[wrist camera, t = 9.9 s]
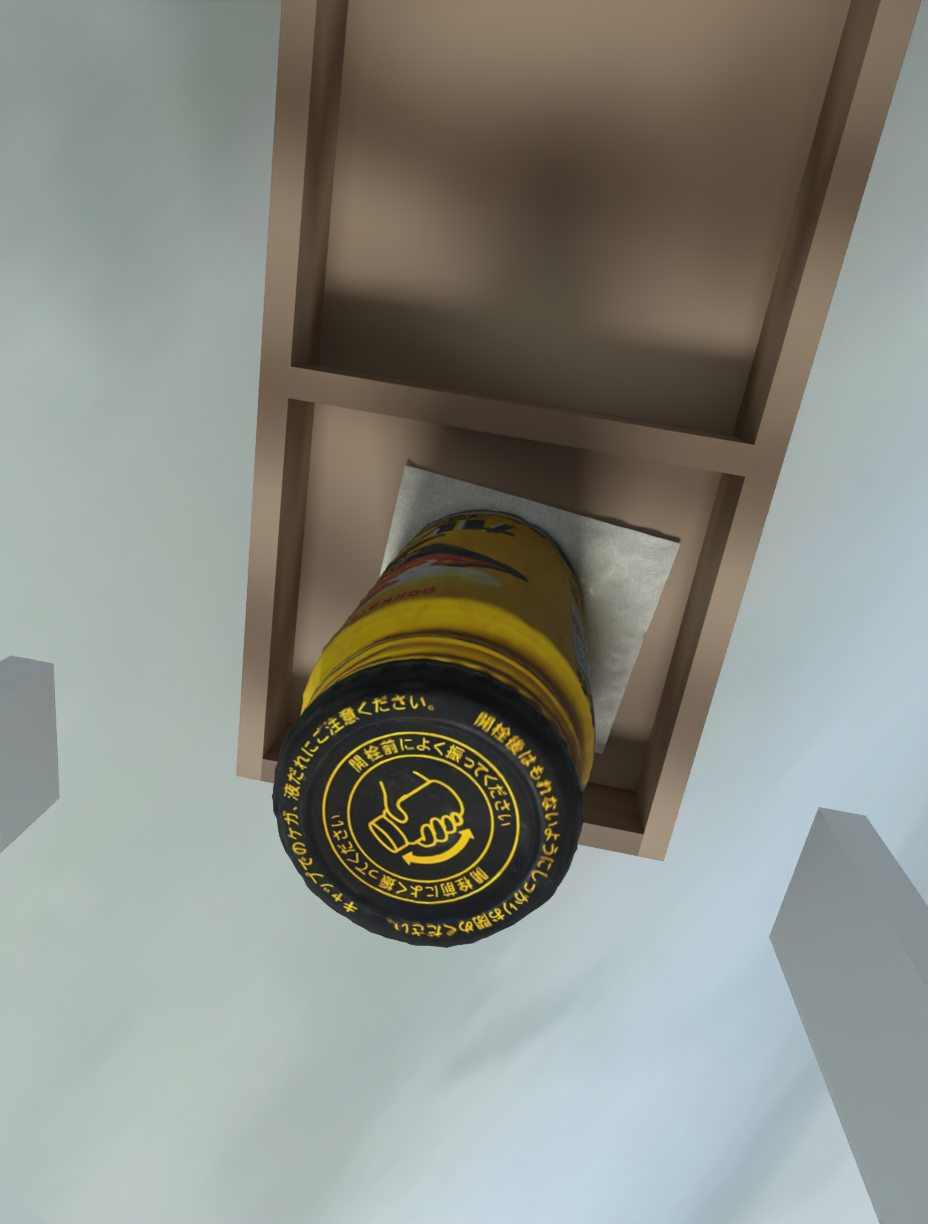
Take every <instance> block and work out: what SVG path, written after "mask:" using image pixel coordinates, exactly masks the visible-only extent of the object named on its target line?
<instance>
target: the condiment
mask: <svg viewBox="0 0 928 1224" xmlns="http://www.w3.org/2000/svg"><path fill="white" fill-rule="evenodd" d="M679 547H680V543H676V542H673V541H669V540H666V539H662V538H658V537H654V536H651V535H647V534H644V533H641V532H638V531H634V530H631V529H627V528H623V527H619V526H615V525H612V524H609V523H605V522H601V521H598V520H595V519H592V518H588V517H584V516H581V515H577V514H574V513H571V512H568V511H564V510H560V509H557V508H554V507H550V506H547V505H544V504H541V503H537V502H534V501H531V500H527V499H524V498H520V497H517V496H513V495H510V494H506V493H502V492H499V491H495V490H492V489H489V488H485V487H481V486H478V485H475V484H471V483H468V482H464V481H461V480H457V479H453V478H449V477H446V476H443V475H440V474H436V473H433V472H429V471H425V470H422V469H418V468H414V467H409V466H405V467H404V472H403V477H402V481H401V485H400V489H399V494H398V498H397V502H396V507H395V511H394V515H393V519H392V525H391V529H390V533H389V538H388V542H387V546H386V550H385V554H384V559H383V563H382V568H381V572H380V576H379V579H378V580H377V582H376V583H375V585H374V587H373V588H372V589H371V590H370V591H369V592H368V594H367V596H366V597H365V598H364V599H362V600H361V601H360V604H359V605H358V607H357V608H356V609H355V611H354V612H353V613H352V614H351V616H349V617H348V619H347V620H346V622H345V623H344V625H343V626H342V627H341V628H340V629H339V631H338V632H336V633H335V634H334V635H333V636H332V638H331V639H330V641H329V642H328V643H327V644H326V645H325V646H324V648H323V650H322V654H321V656H320V658H319V659H318V661H317V662H316V664H315V667H314V669H313V672H312V674H311V676H310V678H309V681H308V683H307V686H306V689H305V691H304V693H303V704H302V710H301V716H300V718H299V720H298V721H297V722H296V723H295V724H294V725H293V726H292V727H291V728H290V729H289V730H288V731H287V733H286V736H285V738H284V740H283V742H282V744H281V748H280V754H279V761H278V763H277V765H276V768H275V771H274V772H275V776H274V787H273V795H272V799H273V811H274V814H275V816H276V818H277V824H278V831H279V836H280V839H281V842H282V844H283V847H284V849H285V851H286V853H287V854H288V856H289V857H290V859H291V860H292V862H293V864H294V866H295V868H296V869H297V871H298V872H299V874H300V875H301V876H302V877H303V879H304V881H305V883H306V885H307V887H308V888H309V889H310V890H311V891H312V892H313V893H314V894H315V895H316V896H318V897H319V898H320V899H321V900H322V901H323V902H325V903H326V904H327V905H328V906H329V907H331V908H332V909H333V910H335V911H336V912H337V913H339V914H341V915H343V916H345V917H347V918H348V919H349V920H351V921H352V922H353V923H355V924H357V925H359V926H361V927H363V928H365V929H366V930H368V931H369V932H371V933H375V934H378V935H381V936H383V937H385V938H389V939H394V940H398V941H401V942H406V943H408V944H411V945H416V946H436V947H446V948H448V947H452V946H456V945H463V944H471V943H474V942H476V941H478V940H480V939H483V938H486V937H489V936H491V935H493V934H495V933H497V932H499V931H501V930H503V929H505V928H508V927H510V926H512V925H514V924H515V923H517V922H518V921H520V920H521V919H523V918H524V917H525V916H527V915H528V914H529V913H531V912H532V911H534V910H535V909H537V908H539V907H540V906H541V905H543V904H544V903H546V902H547V901H548V900H549V899H550V898H551V897H552V896H553V894H554V893H555V891H556V889H557V887H558V886H559V885H560V883H561V882H562V880H563V878H564V877H565V875H566V873H567V872H568V870H569V867H570V865H571V862H572V859H573V856H574V854H575V852H576V850H577V845H578V841H579V837H580V834H581V831H582V826H583V813H582V809H583V794H582V791H583V790H584V789H585V787H586V784H587V782H588V779H589V776H590V771H591V768H592V765H593V759H594V753H595V752H596V753H600V754H602V753H603V751H604V748H605V745H606V742H607V740H608V737H609V733H610V730H611V727H612V724H613V722H614V719H615V716H616V714H617V711H618V708H619V705H620V703H621V700H622V697H623V695H624V692H625V689H626V687H627V684H628V681H629V678H630V675H631V672H632V669H633V667H634V665H635V662H636V659H637V657H638V654H639V651H640V649H641V646H642V643H643V640H644V635H645V633H646V632H647V630H648V627H649V625H650V622H651V620H652V618H653V614H654V612H655V610H656V607H657V605H658V602H659V599H660V596H661V593H662V590H663V588H664V585H665V582H666V580H667V578H668V576H669V573H670V570H671V568H672V565H673V563H674V560H675V557H676V554H677V552H678V549H679ZM581 578H583V579H585V582H584V583H582V582H581ZM590 588H593V593H594V594H593V595H592V594H591V593H590V591H589V589H590Z"/></svg>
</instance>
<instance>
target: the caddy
mask: <svg viewBox="0 0 928 1224" xmlns="http://www.w3.org/2000/svg"><path fill="white" fill-rule="evenodd" d="M920 3H921V0H282V6H281V23H280V40H279V57H278V74H277V91H276V108H275V125H274V142H273V159H272V176H271V193H270V210H269V227H268V245H267V262H266V279H265V296H264V313H263V330H262V347H261V364H260V381H259V398H258V415H257V432H256V449H255V466H254V483H253V500H252V518H251V535H250V552H249V569H248V586H247V603H246V620H245V637H244V654H243V671H242V688H241V705H240V722H239V739H238V756H237V774H236V776H240V777H245V778H250V779H255V780H260V781H265V782H270V783H274V776H275V772H274V771H275V768H276V765H277V763H278V761H279V754H280V748H281V744H282V742H283V740H284V738H285V736H286V733H287V731H288V730H289V729H290V728H291V727H292V726H293V725H294V724H295V723H296V722H297V721H298V720H299V718H300V716H301V710H302V704H303V693H304V691H305V689H306V686H307V683H308V681H309V678H310V676H311V674H312V672H313V669H314V667H315V664H316V662H317V661H318V659H319V658H320V656H321V654H322V650H323V648H324V646H325V645H326V644H327V643H328V642H329V641H330V639H331V638H332V636H333V635H334V634H335V633H336V632H338V631H339V629H340V628H341V627H342V626H343V625H344V623H345V622H346V620H347V619H348V617H349V616H351V614H352V613H353V612H354V611H355V609H356V608H357V607H358V605H359V604H360V601H361V600H362V599H364V598H365V597H366V596H367V594H368V592H369V591H370V590H371V589H372V588H373V587H374V585H375V583H376V582H377V580H378V579H379V576H380V572H381V568H382V563H383V559H384V554H385V550H386V546H387V542H388V538H389V533H390V529H391V525H392V519H393V515H394V511H395V507H396V502H397V498H398V494H399V489H400V485H401V481H402V477H403V472H404V467H405V466H409V467H414V468H418V469H422V470H425V471H429V472H433V473H436V474H440V475H443V476H446V477H449V478H453V479H457V480H461V481H464V482H468V483H471V484H475V485H478V486H481V487H485V488H489V489H492V490H495V491H499V492H502V493H506V494H510V495H513V496H517V497H520V498H524V499H527V500H531V501H534V502H537V503H541V504H544V505H547V506H550V507H554V508H557V509H560V510H564V511H568V512H571V513H574V514H577V515H581V516H584V517H588V518H592V519H595V520H598V521H601V522H605V523H609V524H612V525H615V526H619V527H623V528H627V529H631V530H634V531H638V532H641V533H644V534H647V535H651V536H654V537H658V538H662V539H666V540H669V541H673V542H676V543H680V547H679V549H678V552H677V554H676V557H675V560H674V563H673V565H672V568H671V570H670V573H669V576H668V578H667V580H666V582H665V585H664V588H663V590H662V593H661V596H660V599H659V602H658V605H657V607H656V610H655V612H654V614H653V618H652V620H651V622H650V625H649V627H648V630H647V632H646V633H645V635H644V640H643V643H642V646H641V649H640V651H639V654H638V657H637V659H636V662H635V665H634V667H633V669H632V672H631V675H630V678H629V681H628V684H627V687H626V689H625V692H624V695H623V697H622V700H621V703H620V705H619V708H618V711H617V714H616V716H615V719H614V722H613V724H612V727H611V730H610V733H609V737H608V740H607V742H606V745H605V748H604V751H603V753H602V754H600V753H596V752H595V753H594V759H593V765H592V768H591V771H590V776H589V779H588V782H587V784H586V787H585V789H584V790H583V791H582V794H583V809H582V813H583V826H582V831H581V834H580V837H579V841H578V844H580V845H585V846H590V847H595V848H600V849H605V850H610V851H615V852H620V853H625V854H630V855H635V856H640V857H645V858H650V859H655V860H660V861H664V858H665V855H666V851H667V848H668V845H669V841H670V838H671V835H672V831H673V828H674V825H675V821H676V818H677V815H678V811H679V808H680V805H681V801H682V798H683V795H684V791H685V788H686V785H687V781H688V778H689V775H690V771H691V768H692V765H693V761H694V758H695V755H696V751H697V748H698V744H699V741H700V738H701V734H702V731H703V728H704V724H705V721H706V718H707V714H708V711H709V708H710V704H711V701H712V698H713V694H714V691H715V688H716V684H717V681H718V678H719V674H720V671H721V668H722V664H723V661H724V658H725V654H726V651H727V648H728V644H729V641H730V638H731V634H732V631H733V628H734V624H735V621H736V618H737V614H738V611H739V608H740V604H741V601H742V597H743V594H744V591H745V587H746V584H747V581H748V577H749V574H750V571H751V567H752V564H753V561H754V557H755V554H756V551H757V547H758V544H759V541H760V537H761V534H762V531H763V527H764V524H765V521H766V517H767V514H768V511H769V507H770V504H771V501H772V497H773V494H774V491H775V487H776V484H777V481H778V477H779V474H780V471H781V467H782V464H783V461H784V457H785V454H786V450H787V447H788V444H789V440H790V437H791V434H792V430H793V427H794V424H795V420H796V417H797V414H798V410H799V407H800V404H801V400H802V397H803V394H804V390H805V387H806V384H807V380H808V377H809V374H810V370H811V367H812V364H813V360H814V357H815V354H816V350H817V347H818V344H819V340H820V337H821V334H822V330H823V327H824V324H825V320H826V317H827V314H828V310H829V307H830V303H831V300H832V297H833V293H834V290H835V287H836V283H837V280H838V277H839V273H840V270H841V267H842V263H843V260H844V257H845V253H846V250H847V247H848V243H849V240H850V237H851V233H852V230H853V227H854V223H855V220H856V217H857V213H858V210H859V207H860V203H861V200H862V197H863V193H864V190H865V187H866V183H867V180H868V177H869V173H870V170H871V167H872V163H873V160H874V157H875V153H876V150H877V146H878V143H879V140H880V136H881V133H882V130H883V126H884V123H885V120H886V116H887V113H888V110H889V106H890V103H891V100H892V96H893V93H894V90H895V86H896V83H897V80H898V76H899V73H900V70H901V66H902V63H903V60H904V56H905V53H906V50H907V46H908V43H909V40H910V36H911V33H912V30H913V26H914V23H915V20H916V16H917V13H918V10H919V6H920ZM581 582H582V583H584V582H585V579H583V578H581ZM589 591H590V593H591V594H592V595H593V594H594V593H593V588H590V589H589Z"/></svg>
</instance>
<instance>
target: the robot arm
mask: <svg viewBox="0 0 928 1224" xmlns="http://www.w3.org/2000/svg"><path fill="white" fill-rule="evenodd" d="M58 799H59V778H58V756H57V733H56V710H55V688H54V665H53V663H47V662H42V661H37V660H31V659H26V658H21V657H15V656H9V657H8V658H6V659H4V660H2V661H1V662H0V853H1V852H2V851H3V850H4V849H5V848H6V847H7V846H9V845H10V844H11V843H12V842H13V841H14V840H15V839H16V838H17V837H18V836H19V835H20V834H21V833H22V832H24V831H25V830H26V829H27V828H28V827H29V826H30V825H31V824H32V823H33V822H34V821H35V820H36V819H37V818H39V817H40V816H41V815H42V814H43V813H44V812H45V811H46V810H47V809H48V808H49V807H50V806H51V805H52V804H54V803H55V802H56V801H57V800H58ZM769 937H770V940H771V942H772V945H773V947H774V950H775V953H776V955H777V958H778V960H779V963H780V966H781V968H782V971H783V973H784V976H785V979H786V981H787V984H788V986H789V989H790V992H791V994H792V997H793V999H794V1002H795V1005H796V1007H797V1010H798V1012H799V1015H800V1018H801V1020H802V1023H803V1025H804V1028H805V1031H806V1033H807V1036H808V1038H809V1041H810V1044H811V1046H812V1049H813V1051H814V1054H815V1057H816V1059H817V1062H818V1064H819V1067H820V1070H821V1072H822V1075H823V1077H824V1080H825V1083H826V1085H827V1088H828V1090H829V1093H830V1096H831V1098H832V1101H833V1103H834V1106H835V1109H836V1111H837V1114H838V1116H839V1119H840V1122H841V1124H842V1127H843V1129H844V1132H845V1135H846V1137H847V1140H848V1142H849V1145H850V1148H851V1150H852V1153H853V1155H854V1158H855V1161H856V1163H857V1166H858V1168H859V1171H860V1174H861V1176H862V1179H863V1181H864V1184H865V1187H866V1189H867V1192H868V1194H869V1197H870V1200H871V1202H872V1205H873V1207H874V1210H875V1213H876V1215H877V1218H878V1220H879V1223H880V1224H928V906H927V904H926V903H925V902H924V900H923V899H922V897H921V896H920V894H919V893H918V891H917V890H916V888H915V887H914V886H913V884H912V883H911V881H910V880H909V878H908V877H907V875H906V874H905V872H904V871H903V870H902V868H901V867H900V865H899V864H898V862H897V861H896V859H895V858H894V857H893V855H892V854H891V852H890V851H889V849H888V848H887V846H886V845H885V843H884V842H883V841H882V839H881V838H880V836H879V835H878V833H877V832H876V830H875V829H874V827H873V826H872V825H871V823H870V822H869V820H868V819H867V817H866V816H863V815H858V814H853V813H847V812H842V811H837V810H831V809H826V808H821V807H819V808H818V811H817V813H816V816H815V818H814V821H813V824H812V826H811V829H810V832H809V834H808V837H807V839H806V842H805V845H804V847H803V850H802V852H801V855H800V858H799V860H798V863H797V866H796V868H795V871H794V873H793V876H792V879H791V881H790V884H789V887H788V889H787V892H786V894H785V897H784V900H783V902H782V905H781V907H780V910H779V913H778V915H777V918H776V921H775V923H774V926H773V928H772V931H771V934H770V936H769Z"/></svg>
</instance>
